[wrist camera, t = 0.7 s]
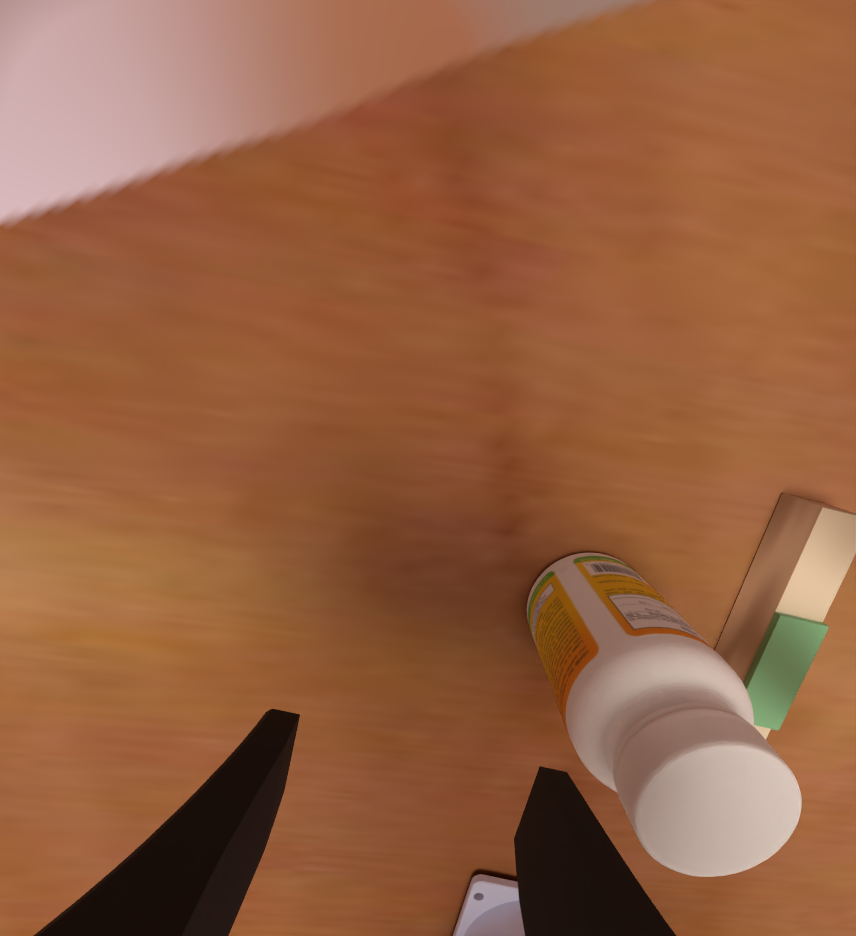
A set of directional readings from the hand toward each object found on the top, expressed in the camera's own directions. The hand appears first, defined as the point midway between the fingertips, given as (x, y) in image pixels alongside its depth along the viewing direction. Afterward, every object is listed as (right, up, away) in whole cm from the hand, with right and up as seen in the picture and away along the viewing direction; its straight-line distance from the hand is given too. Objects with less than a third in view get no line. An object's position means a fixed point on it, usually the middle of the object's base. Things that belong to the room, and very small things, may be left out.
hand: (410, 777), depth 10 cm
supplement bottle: (+7, +1, +11) cm, 13 cm away
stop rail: (+15, -1, +11) cm, 18 cm away
